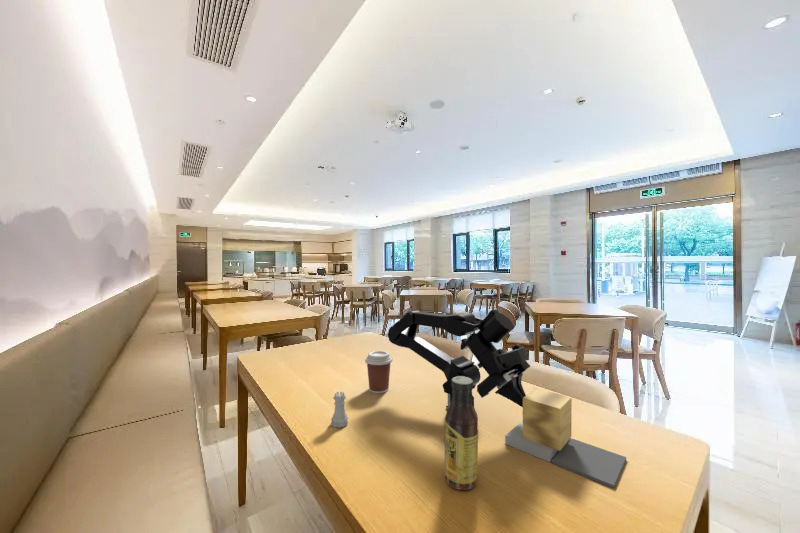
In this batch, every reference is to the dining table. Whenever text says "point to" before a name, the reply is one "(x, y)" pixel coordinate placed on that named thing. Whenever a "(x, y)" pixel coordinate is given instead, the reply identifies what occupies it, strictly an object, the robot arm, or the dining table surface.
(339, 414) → the rook chess piece
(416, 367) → the dining table surface
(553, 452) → the block
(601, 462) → the rubber pad
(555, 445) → the ochre block
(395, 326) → the robot arm
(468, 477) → the sauce bottle
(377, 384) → the coffee cup
